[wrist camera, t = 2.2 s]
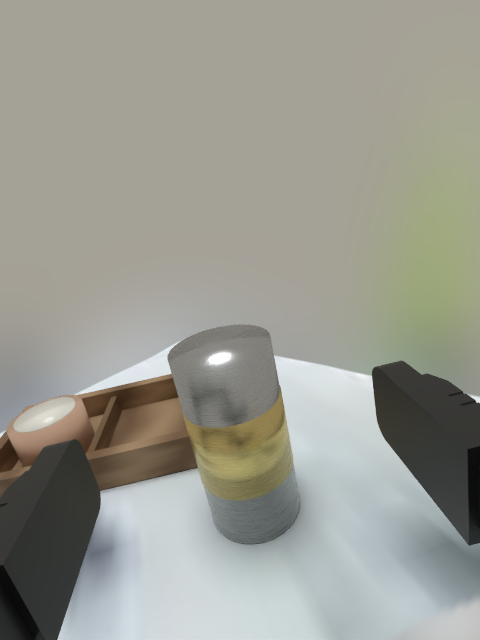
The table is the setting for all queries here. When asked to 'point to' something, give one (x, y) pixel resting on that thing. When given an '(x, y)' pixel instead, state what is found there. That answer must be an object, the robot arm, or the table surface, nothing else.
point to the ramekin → (50, 427)
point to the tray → (125, 435)
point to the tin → (238, 430)
